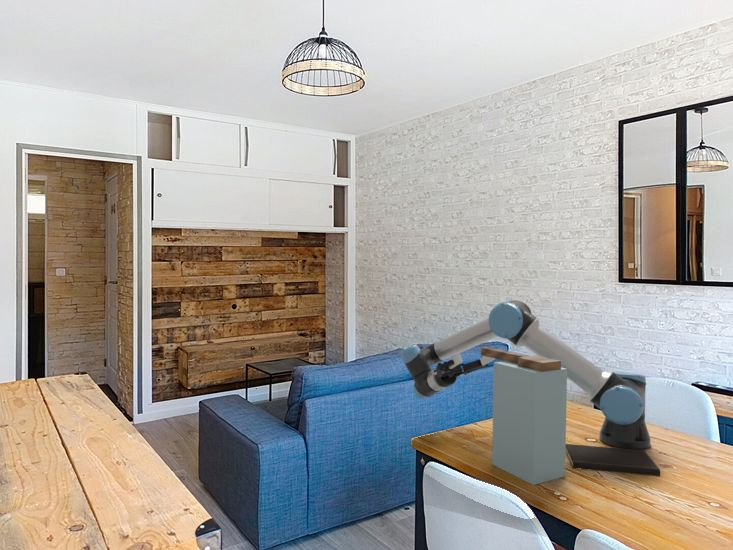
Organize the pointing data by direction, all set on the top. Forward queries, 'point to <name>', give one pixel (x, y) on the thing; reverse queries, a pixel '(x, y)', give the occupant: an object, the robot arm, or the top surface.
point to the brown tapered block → (523, 359)
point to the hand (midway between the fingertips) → (477, 356)
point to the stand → (529, 422)
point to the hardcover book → (611, 459)
